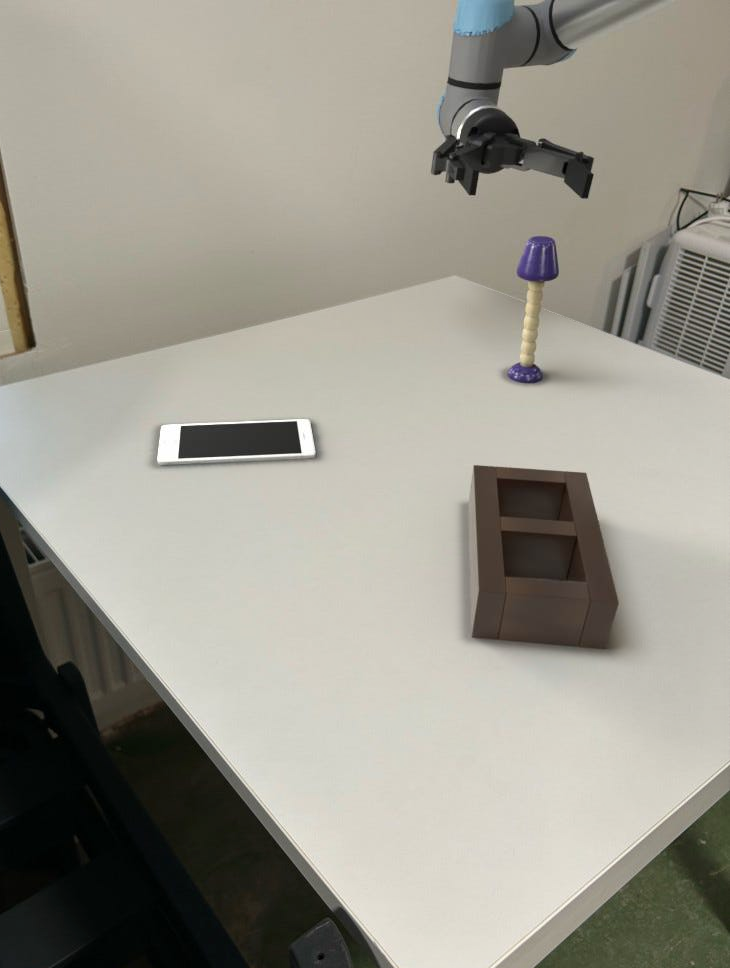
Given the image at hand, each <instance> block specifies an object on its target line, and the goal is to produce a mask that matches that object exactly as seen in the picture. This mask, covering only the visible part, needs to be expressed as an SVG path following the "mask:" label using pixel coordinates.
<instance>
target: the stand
mask: <svg viewBox="0 0 730 968" xmlns="http://www.w3.org/2000/svg"><path fill="white" fill-rule="evenodd" d="M467 521H468V522H467V524H468V525H467V526H468V556H469V557H468V558H469V559H468V561H469V592H470V593H469V597H470V600H469V601H470V629H471V630H470V631H471V638H474V639H482V640H483V639H484V640H494V641H495V640H497V641H505V642H507V641H508V642H518V643H529V644H539V645H550V646H562V647H572V648H573V647H574V648H585V649H594V650H595V649H596V650H606V649H607V646H608V642H609V639H610V635H611V632H612V629H613V625H614V621H615V618H616V614H617V611H618V607H619V604H620V603H619V598H618V593H617V590H616V585H615V581H614V578H613V573H612V570H611V566H610V561H609V558H608V554H607V550H606V546H605V542H604V538H603V535H602V530H601V526H600V522H599V517H598V514H597V510H596V507H595V502H594V498H593V494H592V490H591V486H590V481H589V477H588V474H587V472H580V471H568V470H567V471H565V470H564V471H563V470H552V469H539V468H538V469H536V468H525V467H524V468H523V467H511V466H494V465H481V464H480V465H479V464H478V465H477V464H474V465H473V466H472V473H471V481H470V489H469V497H468V505H467Z"/></svg>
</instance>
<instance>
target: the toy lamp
mask: <svg viewBox="0 0 730 968" xmlns="http://www.w3.org/2000/svg"><path fill="white" fill-rule="evenodd" d="M556 244H557V243H556V241H555V239H554V238H552V237H550V236H545V235H535V236H532V237H529V239H528V240H527V242H526V244H525V245H524V249H523V251H522V255H521V256H520V259H519V262H518V264H517V265H518V266H517V269H516V275H517V277H518V278H519V279H522V280H524V281H527V282H528V291H527V293H526V301H527V303H526V304H525V310H524V311H525V316H524V319H523V327H524V328H523V330H522V336H521V337H522V342H521V346H520V349H521V353H520V356H519V362H517V363H515V364H513V365H512V366H511V367H510V368H509V369H508V371H507V373H506V374H507V375H506V376H507V377H508V378H509V379H510V380H511V381H513V382H516V383H520V384H536V383H539V382H541V381H542V379H543V373H542V371H541V369H540V367H539V366H538V365H537V364H535V360H536V359H535V358H536V356H535V352H536V350H537V342H536V341H537V339H538V336H539V332H538V328H539V326H540V316H539V315H540V314H541V311H542V305H541V302H542V300H543V297H544V294H543V293H544V292H543V289H544V287H545V282H550V281H554V280H555V279H557V278H558V277H559V274H560V273H559V272H560V269H559V259H558V252H557V245H556Z"/></svg>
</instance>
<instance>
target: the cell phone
mask: <svg viewBox="0 0 730 968" xmlns="http://www.w3.org/2000/svg"><path fill="white" fill-rule="evenodd" d="M316 453H317V451H316V445H315V441H314V435H313V430H312V424H311V421H310V419H307V418H303V419H302V418H299V419H298V418H295V419H276V420H275V419H273V420H272V419H271V420H250V421H249V420H248V421H226V422H224V421H222V422H221V421H220V422H199V423H197V422H196V423H177V424H176V423H174V424H163V425H162V426H161V427H160V435H159V442H158V452H157V459H156V460H157V464H158V465H160V466H169V465H170V466H171V465H191V464H194V465H195V464H214V463H215V464H217V463H235V462H236V463H237V462H239V463H240V462H256V461H280V460H282V461H283V460H302V459H303V460H304V459H305V460H306V459H314V458H316Z"/></svg>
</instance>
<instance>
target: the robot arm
mask: <svg viewBox="0 0 730 968" xmlns="http://www.w3.org/2000/svg"><path fill="white" fill-rule="evenodd" d="M680 1H681V0H543V1H541V2H539V3H536V4H524V5H515V0H458V3H457V8H456V12H455V17H454V22H453V25H452V26H453V27H452V29H453V32H452V33H453V34H452V42H451V49H450V58H449V67H448V76H447V81H446V87H445V92H444V93H443V95H442V97H441V98H440V100H439V101H438V106H437V109H436V120H437V124H438V127H439V129H440V132H441V134H442V136H443V137H444V138H445V141H444V142H443V143H442V144H440V145H439V146H438V147H437V148H436V149H435V150H434V151H433V152H432V161H431V167H430V168H431V169H430V174H431V175H432V176H433V175H434V176H439V175H441V174H442V173H443V172H445V173H446V174H445V181H444V182H445V183H447V184H455V183H456V181H458V184H460V185H461V187H462V188H463V189H464V191H465V192H466V193H467V194H468V196H477V195H476V194H477V189H478V182H479V176H480V174H485V175H492V174H496V173H499V172H500V171H502V170H504V169H508V170H509V169H514V170H517V171H520V172H527V171H530V170H533V171H536V172H539V173H543V174H546V175H549V176H553V177H556V178H561V179H563V183H564V184H565V185H566V186H567V187H568V188H570V189H571V190H572V192H574V193H575V194H576V195H577V196H578V197H579V198H580V199H583V200H585V199H587V200H588V199H589V196H590V192H591V187H592V183H593V179H594V176H595V174H594V173H593V172H592V169H593V165H594V161H595V157H593V156H592V155H591V156H590V155H587V154H584V153H585V152H583V151H579V152H578V151H575V150H573V149H570V148H568V147H565V146H561V145H559V144H556V143H554V142H552V141H550V140H549V139H546V138H544V137H542V138H539V139H538V142H535V141H534V140H530V139H527V138H522V137H521V134H520V131H519V128H518V125H517V123H516V122H515V121H514V120H513V118H512V117H510V115H508V114H507V113H506V112H505V111H504V110H502V108H500V107H499V106H498V103H499V96H500V90H501V87H502V81H503V75H504V70H506V69H514V68H515V69H516V68H523V67H534V66H535V67H536V66H551V65H554V64H558V63H561V62H565V61H567V60H569V59H570V58H571V57H572V56H574V54H575V53H576V51H577V50H578V49H579V48H581V47H583V46H585V45H587V44H590V43H592V42H594V41H596V40H599V39H601V38H603V37H605V36H607V35H609V34H611V33H614V32H616V31H617V30H620V29H622V28H624V27H626V26H629V25H631V24H633V23H635V22H637V21H639V20H641V19H644V18H646V17H648V16H650V15H653V14H655V13H656V12H658V11H662V10H663V9H665V8H668V7H669V6H672V5H674V4H676V3H679V2H680ZM521 162H522V163H521Z"/></svg>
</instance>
